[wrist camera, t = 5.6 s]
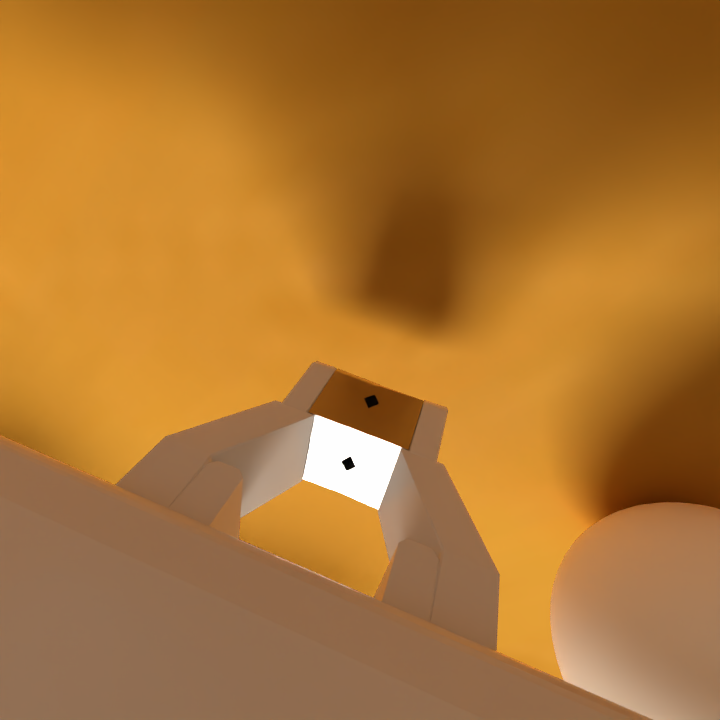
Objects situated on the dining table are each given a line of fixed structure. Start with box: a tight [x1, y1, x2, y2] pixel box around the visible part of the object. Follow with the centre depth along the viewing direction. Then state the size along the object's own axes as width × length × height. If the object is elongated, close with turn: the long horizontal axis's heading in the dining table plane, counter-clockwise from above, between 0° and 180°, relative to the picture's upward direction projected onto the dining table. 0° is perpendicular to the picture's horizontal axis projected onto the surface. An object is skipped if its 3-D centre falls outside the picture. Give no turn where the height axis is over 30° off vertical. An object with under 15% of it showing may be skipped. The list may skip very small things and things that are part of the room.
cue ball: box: [550, 502, 720, 720], centre depth 9 cm, size 6×6×6 cm
